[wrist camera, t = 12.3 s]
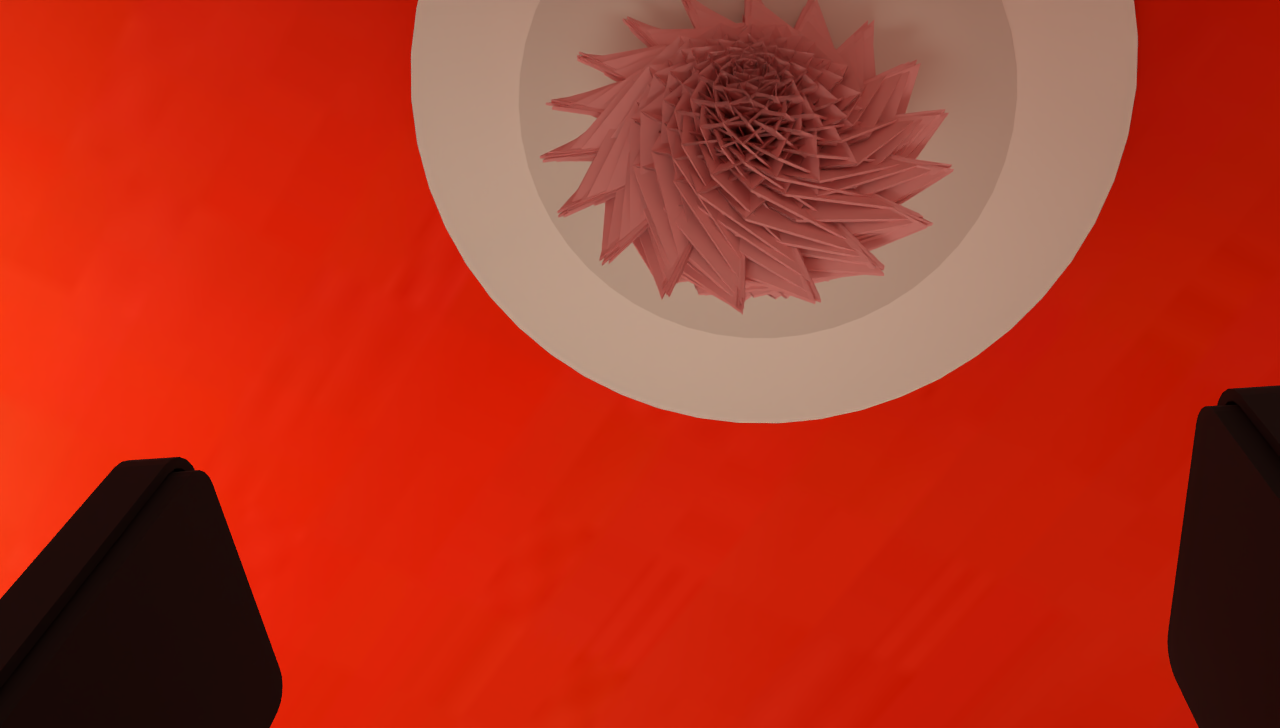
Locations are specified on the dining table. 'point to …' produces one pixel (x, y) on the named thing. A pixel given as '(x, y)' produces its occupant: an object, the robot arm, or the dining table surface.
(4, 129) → the dining table surface
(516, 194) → the plate
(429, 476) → the dining table surface
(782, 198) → the flower
